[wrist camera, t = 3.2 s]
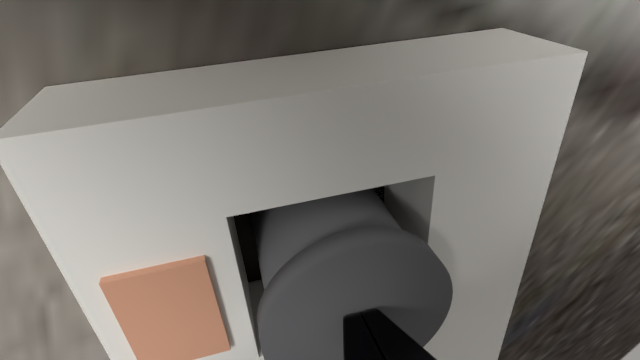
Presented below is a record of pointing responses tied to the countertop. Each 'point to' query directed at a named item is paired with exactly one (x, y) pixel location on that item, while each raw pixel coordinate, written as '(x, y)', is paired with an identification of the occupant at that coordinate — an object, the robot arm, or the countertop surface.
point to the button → (342, 275)
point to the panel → (291, 178)
